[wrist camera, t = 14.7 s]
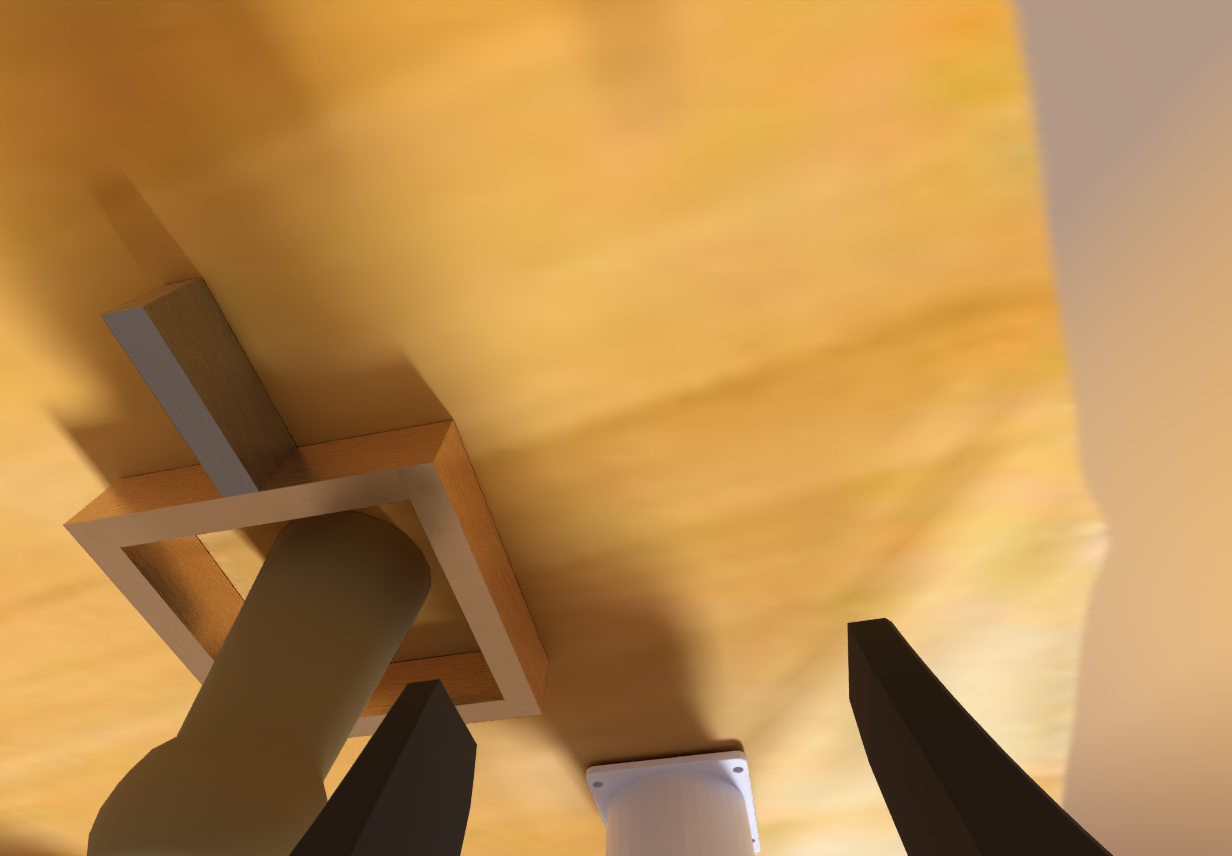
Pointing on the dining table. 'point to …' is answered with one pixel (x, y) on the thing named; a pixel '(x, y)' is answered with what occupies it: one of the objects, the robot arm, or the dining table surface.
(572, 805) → the dining table surface
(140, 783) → the cork
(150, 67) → the dining table surface
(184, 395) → the square frame
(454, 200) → the dining table surface
